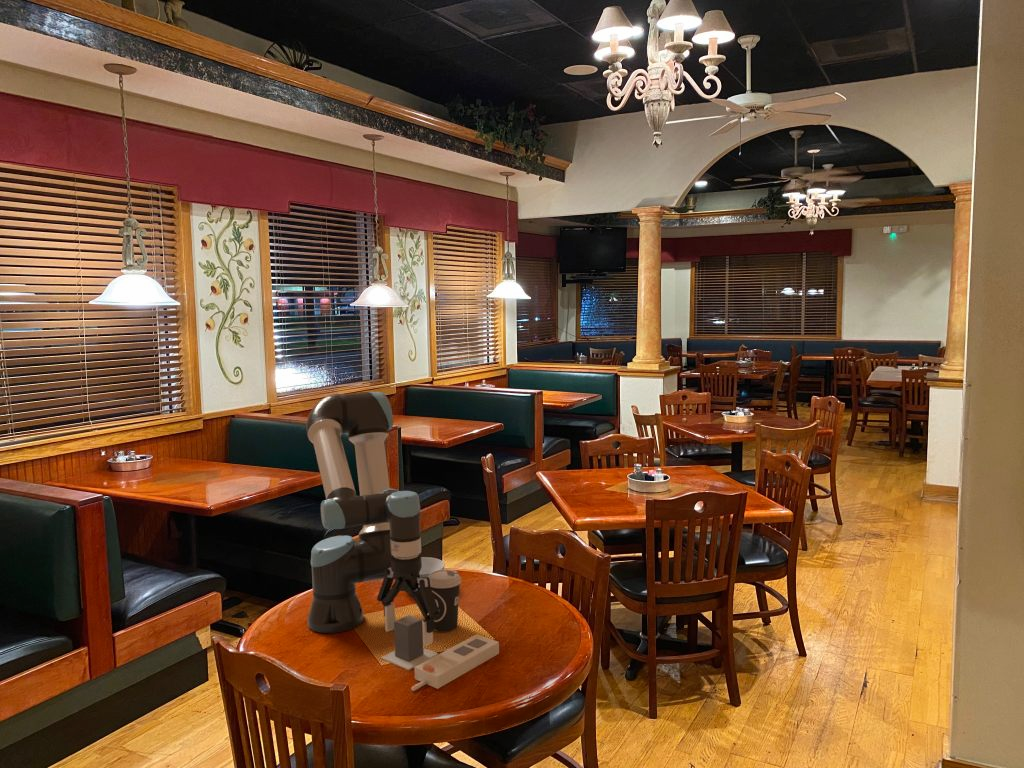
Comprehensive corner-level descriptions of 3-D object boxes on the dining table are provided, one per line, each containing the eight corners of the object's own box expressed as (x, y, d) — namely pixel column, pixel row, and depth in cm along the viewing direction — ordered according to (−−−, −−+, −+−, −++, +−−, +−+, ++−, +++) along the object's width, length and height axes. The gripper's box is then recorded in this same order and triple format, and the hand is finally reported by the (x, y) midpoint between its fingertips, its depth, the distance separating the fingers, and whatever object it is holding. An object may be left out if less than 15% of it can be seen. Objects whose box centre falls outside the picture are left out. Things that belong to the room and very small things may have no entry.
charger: (395, 656, 191) (393, 621, 190) (409, 649, 195) (408, 614, 194) (409, 662, 188) (407, 626, 187) (423, 654, 192) (422, 619, 191)
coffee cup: (457, 636, 203) (455, 581, 201) (423, 633, 205) (421, 579, 203) (466, 621, 212) (465, 568, 211) (433, 618, 214) (432, 567, 212)
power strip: (423, 697, 172) (422, 681, 172) (400, 686, 177) (400, 671, 176) (499, 653, 193) (498, 639, 192) (476, 645, 197) (476, 631, 197)
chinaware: (397, 601, 227) (397, 576, 226) (395, 583, 242) (394, 559, 241) (448, 596, 230) (447, 571, 229) (442, 578, 245) (441, 555, 244)
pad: (381, 658, 191) (381, 657, 191) (410, 644, 199) (410, 642, 198) (408, 670, 185) (408, 668, 184) (437, 655, 192) (437, 653, 192)
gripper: (361, 548, 193) (364, 628, 196) (430, 569, 178) (433, 656, 180) (383, 541, 199) (386, 619, 202) (453, 560, 184) (455, 644, 186)
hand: (408, 636), depth 191 cm, fingers open, 13 cm apart
